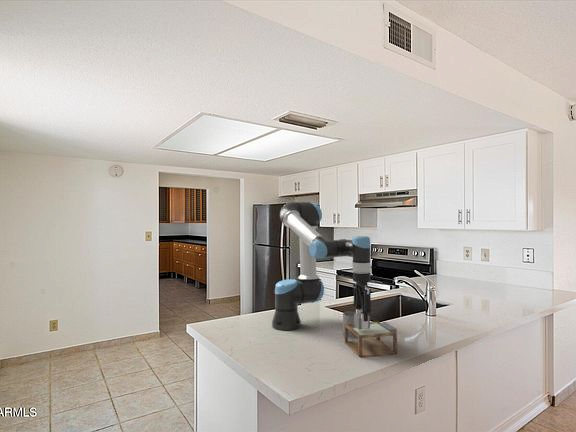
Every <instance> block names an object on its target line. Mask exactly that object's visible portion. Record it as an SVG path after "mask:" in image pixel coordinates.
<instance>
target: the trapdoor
mask: <svg viewBox="0 0 576 432" xmlns="http://www.w3.org/2000/svg"><path fill="white" fill-rule="evenodd" d="M353 329H354V330H355V331H357V332H358V333H359V334H360V335H366V334H379V333H392V332H396V333H398V330H397V328H396V327H394V326H393V325H391V324H390V323H388V322H387V321H382V322H380V323H379V324H378V323H374V324H370V329H358V328H356V327H355V328H353ZM376 338H377V337H373V338H362V341H363V340H370V339H376Z"/></svg>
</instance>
